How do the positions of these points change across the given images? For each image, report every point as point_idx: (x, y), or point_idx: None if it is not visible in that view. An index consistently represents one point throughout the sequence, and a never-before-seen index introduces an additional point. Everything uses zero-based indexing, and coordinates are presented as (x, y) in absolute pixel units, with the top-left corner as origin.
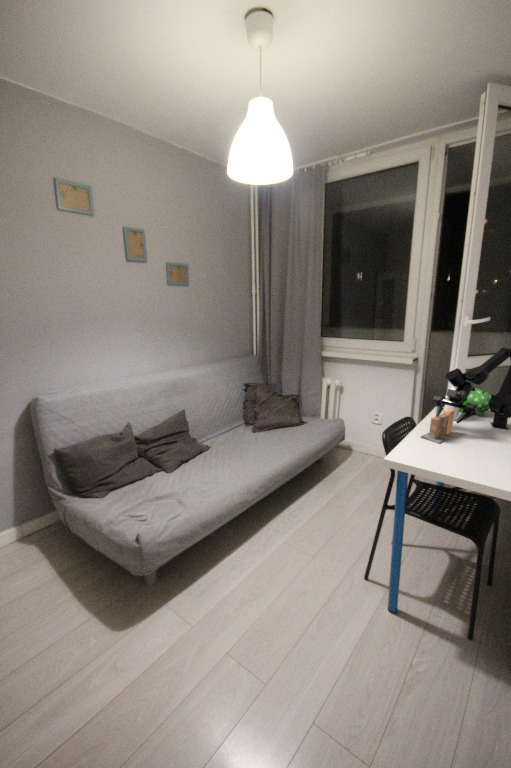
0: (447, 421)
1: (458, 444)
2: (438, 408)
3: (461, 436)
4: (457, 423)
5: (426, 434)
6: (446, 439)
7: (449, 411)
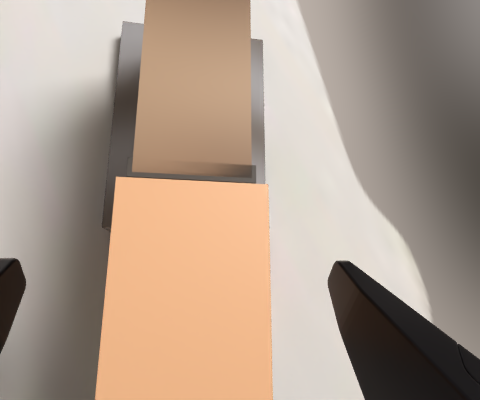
0: None
1: (12, 139)
2: (467, 379)
3: (55, 359)
4: (15, 278)
5: (256, 99)
6: (113, 137)
7: (146, 260)
